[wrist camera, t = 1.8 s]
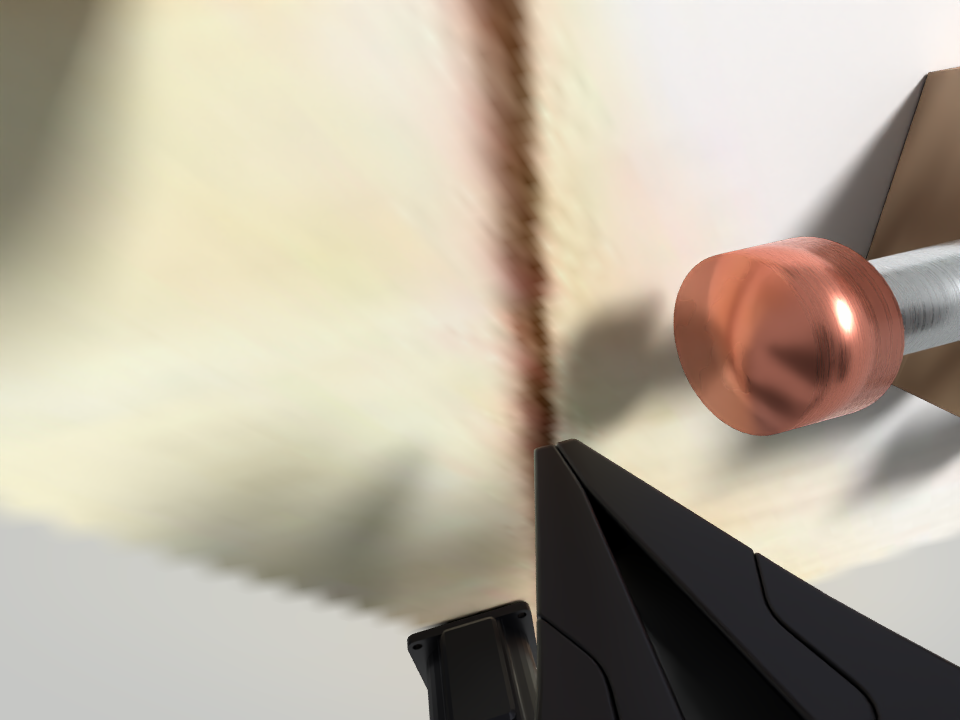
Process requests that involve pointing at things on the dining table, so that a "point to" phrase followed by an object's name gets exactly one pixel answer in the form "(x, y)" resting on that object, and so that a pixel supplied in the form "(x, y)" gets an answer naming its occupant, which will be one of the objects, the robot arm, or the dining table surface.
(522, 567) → the dining table surface
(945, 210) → the hitch block
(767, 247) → the pin
